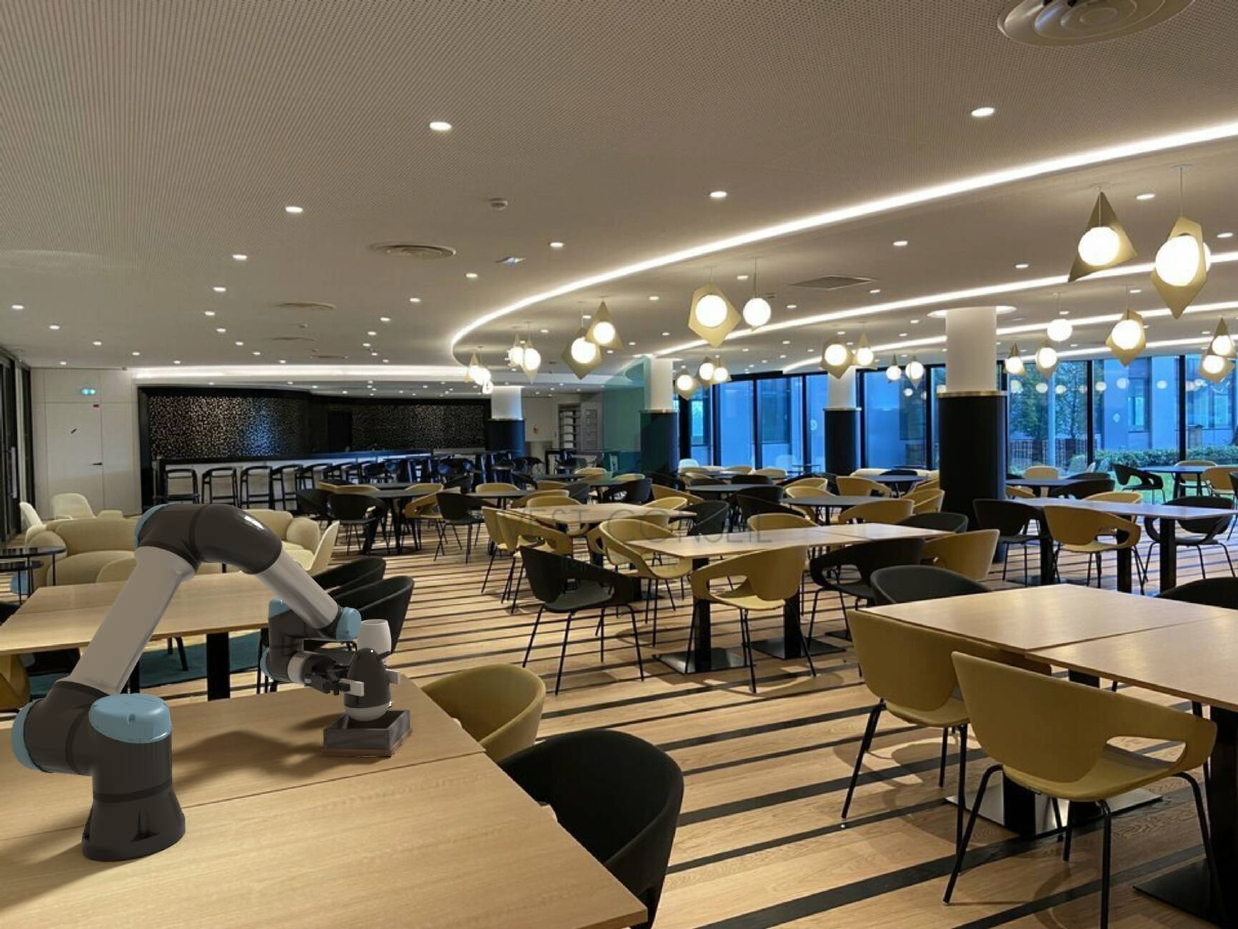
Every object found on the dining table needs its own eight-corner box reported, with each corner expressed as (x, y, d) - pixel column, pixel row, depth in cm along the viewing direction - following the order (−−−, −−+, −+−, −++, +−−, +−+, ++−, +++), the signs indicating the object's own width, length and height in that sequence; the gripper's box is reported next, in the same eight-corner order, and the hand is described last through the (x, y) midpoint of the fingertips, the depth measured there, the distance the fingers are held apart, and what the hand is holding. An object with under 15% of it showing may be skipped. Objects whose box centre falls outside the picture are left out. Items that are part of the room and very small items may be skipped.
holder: (391, 757, 186) (390, 730, 186) (320, 756, 187) (320, 730, 187) (412, 733, 201) (412, 709, 201) (347, 733, 202) (346, 709, 202)
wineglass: (398, 701, 227) (396, 618, 226) (386, 711, 218) (384, 625, 217) (365, 700, 227) (363, 618, 227) (351, 711, 219) (349, 625, 218)
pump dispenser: (385, 724, 189) (383, 653, 189) (336, 725, 189) (334, 653, 189) (398, 709, 199) (396, 641, 199) (351, 710, 199) (349, 642, 199)
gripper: (353, 675, 213) (419, 688, 201) (271, 698, 195) (339, 715, 182) (352, 643, 213) (419, 655, 201) (270, 664, 195) (338, 678, 182)
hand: (381, 683), depth 191 cm, fingers closed on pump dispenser, 9 cm apart
